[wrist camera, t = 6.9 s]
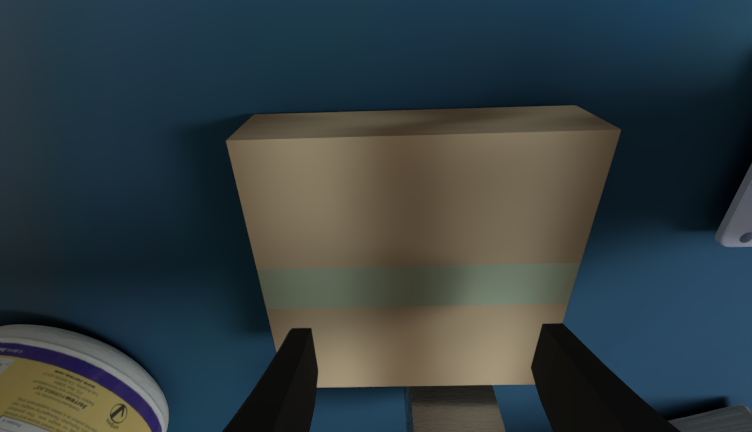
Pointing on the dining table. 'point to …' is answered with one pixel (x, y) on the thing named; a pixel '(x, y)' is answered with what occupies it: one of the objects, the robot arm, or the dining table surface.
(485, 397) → the column
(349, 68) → the dining table surface
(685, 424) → the skincare box
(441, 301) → the green-striped tan block
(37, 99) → the dining table surface
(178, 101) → the dining table surface
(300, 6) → the dining table surface
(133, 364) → the supplement tub
